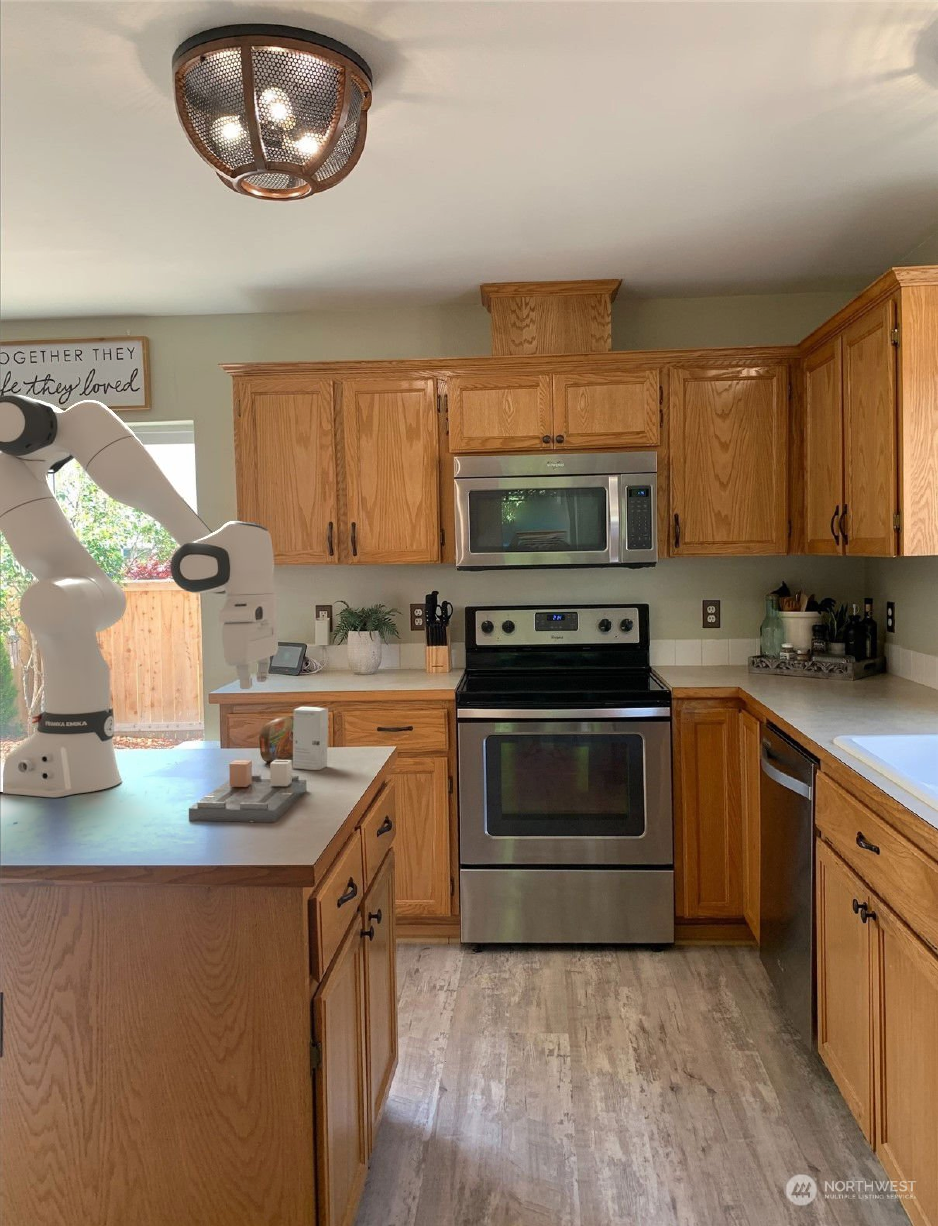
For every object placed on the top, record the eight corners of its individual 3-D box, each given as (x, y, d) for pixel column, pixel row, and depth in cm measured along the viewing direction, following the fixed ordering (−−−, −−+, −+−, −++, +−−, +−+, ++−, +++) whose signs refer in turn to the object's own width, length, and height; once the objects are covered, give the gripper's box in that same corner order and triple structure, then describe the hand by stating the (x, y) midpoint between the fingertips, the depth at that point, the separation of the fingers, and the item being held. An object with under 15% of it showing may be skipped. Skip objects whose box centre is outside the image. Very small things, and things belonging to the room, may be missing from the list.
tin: (271, 766, 183) (270, 725, 182) (256, 765, 183) (256, 725, 183) (299, 751, 197) (299, 713, 197) (286, 750, 198) (285, 712, 198)
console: (188, 820, 144) (188, 803, 144) (231, 789, 164) (231, 773, 164) (274, 822, 143) (273, 805, 143) (306, 790, 163) (306, 775, 163)
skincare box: (291, 769, 180) (291, 709, 180) (301, 764, 185) (300, 705, 184) (320, 770, 179) (319, 710, 178) (329, 765, 183) (328, 707, 182)
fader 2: (270, 785, 158) (270, 762, 158) (275, 781, 161) (275, 759, 161) (287, 786, 158) (286, 763, 157) (291, 782, 161) (291, 759, 160)
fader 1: (229, 786, 157) (229, 763, 157) (235, 782, 160) (235, 759, 160) (246, 786, 157) (246, 763, 157) (251, 782, 160) (251, 759, 160)
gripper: (252, 607, 174) (255, 678, 175) (214, 613, 154) (218, 693, 155) (284, 606, 174) (287, 677, 175) (250, 612, 154) (254, 692, 154)
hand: (254, 685), depth 165 cm, fingers open, 8 cm apart
